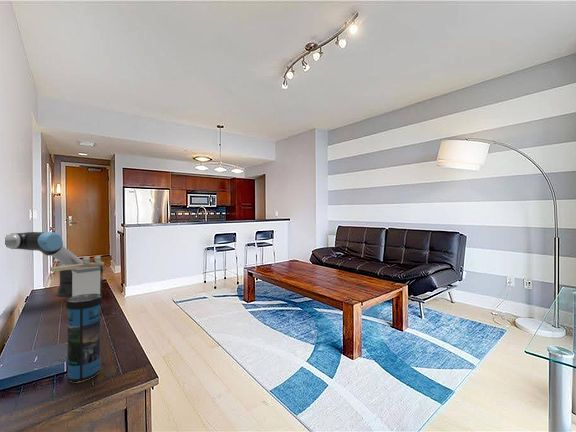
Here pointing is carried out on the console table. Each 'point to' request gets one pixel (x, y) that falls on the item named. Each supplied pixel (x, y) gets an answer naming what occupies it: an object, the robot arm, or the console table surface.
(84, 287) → the grey-banded white block
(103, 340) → the console table surface
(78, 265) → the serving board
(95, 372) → the advertising column
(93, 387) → the console table surface
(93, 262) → the cola bottle
